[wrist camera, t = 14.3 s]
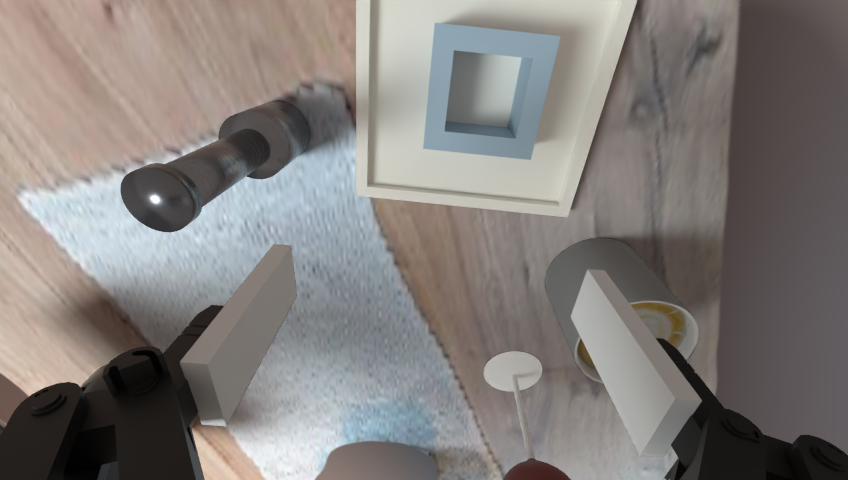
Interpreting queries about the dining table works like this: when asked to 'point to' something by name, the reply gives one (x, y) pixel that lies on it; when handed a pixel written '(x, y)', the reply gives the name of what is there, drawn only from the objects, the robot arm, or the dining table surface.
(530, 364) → the wineglass
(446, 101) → the ring
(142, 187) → the pestle
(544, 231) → the dining table surface
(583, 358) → the coffee mug
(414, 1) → the tray
